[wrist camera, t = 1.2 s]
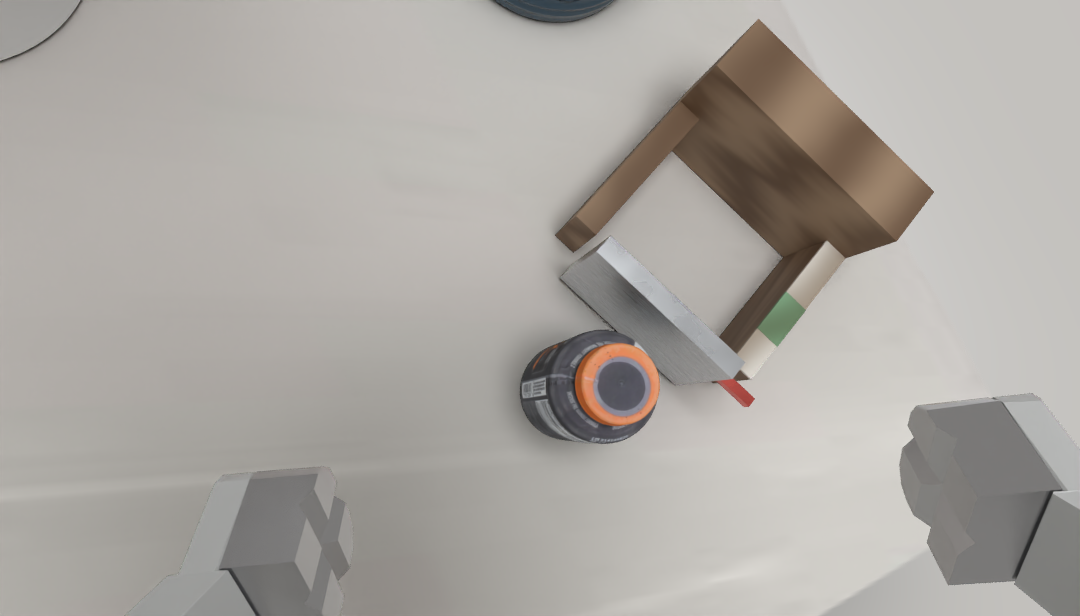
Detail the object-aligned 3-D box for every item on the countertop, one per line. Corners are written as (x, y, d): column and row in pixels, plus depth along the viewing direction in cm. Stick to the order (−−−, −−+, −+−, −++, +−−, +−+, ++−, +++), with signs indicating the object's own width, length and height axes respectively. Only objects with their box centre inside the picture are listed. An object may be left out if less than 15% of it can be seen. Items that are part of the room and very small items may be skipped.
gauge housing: (555, 235, 50) (601, 191, 40) (687, 91, 53) (758, 19, 44) (713, 383, 51) (795, 375, 41) (832, 232, 54) (934, 192, 45)
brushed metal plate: (559, 277, 49) (596, 251, 41) (572, 264, 49) (610, 235, 42) (703, 411, 50) (765, 410, 42) (714, 397, 50) (778, 393, 42)
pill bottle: (596, 333, 50) (662, 309, 39) (622, 424, 49) (696, 426, 38) (506, 358, 48) (548, 340, 37) (532, 452, 48) (583, 462, 37)
